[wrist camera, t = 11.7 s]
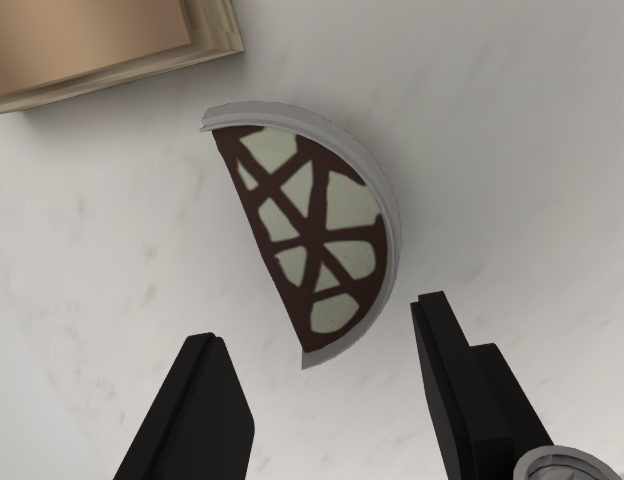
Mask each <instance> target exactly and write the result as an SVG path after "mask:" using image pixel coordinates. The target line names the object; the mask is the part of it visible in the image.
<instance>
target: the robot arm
mask: <svg viewBox="0 0 624 480" xmlns="http://www.w3.org/2000/svg"><path fill="white" fill-rule="evenodd" d="M418 301H419V302H413V303H410V306H411V313H412V319H413V324H414V330H415V336H416V342H417V348H418V354H419V360H420V365H421V371H422V377H423V383H424V389H425V395H426V399H427V404H428V408H429V412H430V415H431V419H432V422H433V426H434V430H435V433H436V437H437V440H438V444H439V448H440V451H441V455H442V458H443V462H444V466H445V469H446V473H447V476H448V480H622V479H621V478H620V477H619V476H618V475H617V474H616V473H615V472H614V471H613V470H612V469H611V468H610V467H609V466H608V465H607V464H605V463H604V462H602V461H601V460H599V459H597V458H596V457H594V456H593V455H591V454H588V453H585V452H583V451H580V450H578V449H575V448H570V447H564V446H558V445H556V446H555V445H554V444H553V442H552V440H551V438H550V437H549V435H548V433H547V431H546V430H545V428H544V426H543V424H542V423H541V421H540V419H539V418H538V416H537V414H536V412H535V411H534V409H533V407H532V405H531V404H530V402H529V400H528V399H527V397H526V395H525V393H524V392H523V390H522V388H521V386H520V385H519V383H518V381H517V379H516V378H515V376H514V374H513V373H512V371H511V369H510V367H509V366H508V364H507V362H506V360H505V359H504V357H503V355H502V354H501V352H500V350H499V349H498V347H497V346H496V345H495V344H494V343H489V344H483V345H477V346H471V347H470V346H469V344H468V342H467V340H466V338H465V336H464V334H463V331H462V329H461V327H460V325H459V323H458V321H457V319H456V317H455V315H454V313H453V311H452V309H451V307H450V304H449V302H448V300H447V298H446V296H445V294H444V292H443V291H439V292H433V293H427V294H422V295H418ZM254 432H255V426H254V420H253V416H252V414H251V411H250V409H249V406H248V403H247V401H246V398H245V395H244V393H243V390H242V388H241V385H240V382H239V380H238V377H237V374H236V372H235V369H234V367H233V364H232V361H231V359H230V356H229V353H228V351H227V348H226V346H225V343H224V341H223V339H222V338H221V337H216V336H215V335H214V334H213V333H212V332H208V333H203V334H197V335H191V336H188V337H187V338H186V340H185V342H184V344H183V346H182V348H181V350H180V352H179V353H178V355H177V357H176V359H175V361H174V363H173V365H172V367H171V369H170V371H169V373H168V375H167V377H166V378H165V380H164V382H163V384H162V386H161V388H160V390H159V392H158V394H157V396H156V398H155V400H154V402H153V403H152V405H151V407H150V409H149V411H148V413H147V415H146V417H145V419H144V421H143V423H142V425H141V427H140V428H139V430H138V432H137V434H136V436H135V438H134V440H133V442H132V444H131V446H130V448H129V450H128V452H127V453H126V455H125V457H124V459H123V461H122V463H121V465H120V467H119V469H118V471H117V473H116V475H115V477H114V478H113V480H245V477H246V472H247V467H248V463H249V458H250V453H251V448H252V443H253V438H254Z"/></svg>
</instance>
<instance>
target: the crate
mask: <svg viewBox="0 0 624 480" xmlns="http://www.w3.org/2000/svg"><path fill="white" fill-rule="evenodd" d="M183 1H184V5H185V8H186V12H187V15H188V18H189V22H190V25H191V29H192V32H193V36H194V39H195V42H196V45H194V46H190V47H186V48H183V49H179V50H175V51H171V52H168V53H164V54H160V55H157V56H153V57H149V58H146V59H142V60H138V61H135V62H131V63H127V64H124V65H120V66H116V67H113V68H109V69H105V70H102V71H98V72H94V73H91V74H87V75H83V76H80V77H76V78H72V79H69V80H65V81H61V82H58V83H54V84H50V85H47V86H43V87H39V88H36V89H32V90H28V91H25V92H21V93H17V94H14V95H10V96H6V97H3V98H0V114H4V113H10V112H16V111H21V110H25V109H29V108H33V107H36V106H40V105H44V104H48V103H51V102H55V101H59V100H63V99H66V98H70V97H74V96H78V95H82V94H85V93H89V92H93V91H97V90H100V89H104V88H108V87H112V86H115V85H119V84H123V83H127V82H130V81H134V80H138V79H142V78H145V77H149V76H153V75H157V74H160V73H164V72H168V71H172V70H175V69H179V68H183V67H187V66H190V65H194V64H198V63H202V62H205V61H209V60H213V59H217V58H220V57H224V56H228V55H232V54H235V53H239V52H243V51H245V49H244V45H243V41H242V38H241V34H240V30H239V27H238V23H237V19H236V16H235V12H234V8H233V5H232V1H231V0H183Z"/></svg>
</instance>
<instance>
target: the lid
mask: <svg viewBox="0 0 624 480" xmlns="http://www.w3.org/2000/svg"><path fill="white" fill-rule="evenodd" d="M194 45H196V42H195V39H194V36H193V32H192V29H191V25H190V22H189V18H188V15H187V12H186V8H185V5H184V1H183V0H0V98H3V97H6V96H10V95H14V94H17V93H21V92H25V91H28V90H32V89H36V88H39V87H43V86H47V85H50V84H54V83H58V82H61V81H65V80H69V79H72V78H76V77H80V76H83V75H87V74H91V73H94V72H98V71H102V70H105V69H109V68H113V67H116V66H120V65H124V64H127V63H131V62H135V61H138V60H142V59H146V58H149V57H153V56H157V55H160V54H164V53H168V52H171V51H175V50H179V49H183V48H186V47H190V46H194Z"/></svg>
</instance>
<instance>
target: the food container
mask: <svg viewBox="0 0 624 480" xmlns="http://www.w3.org/2000/svg"><path fill="white" fill-rule="evenodd" d="M201 121H202V123H203V125H204V126H203V127H202V128H201V129H200V130H199V131H200V132H203V131H210V130H212V134H213V137H214V139H215V141H216V144H217V148H218V150H219V152H220V154H221V155H222V157H223V159H224V161H225V164H226V166H227V168H228V170H229V173H230V175H231V178H232V180H233V183H234V185H235V187H236V190H237V192H238V195H239V197H240V200H241V203H242V205H243V208H244V210H245V213H246V215H247V218H248V220H249V223H250V226H251V229H252V231H253V234H254V237H255V240H256V242H257V245H258V248H259V250H260V253H261V256H262V258H263V260H264V262H265V265H266V267H267V269H268V271H269V273H270V275H271V277H272V279H273V281H274V283H275V285H276V288H277V290H278V292H279V294H280V296H281V299H282V301H283V303H284V305H285V308H286V310H287V312H288V315H289V317H290V320H291V322H292V324H293V327H294V329H295V332H296V334H297V336H298V339H299V341H300V343H301V346H302V370H304V369H307V368H310V367H313V366H316V365H319V364H321V363H323V362H326V361H328V360H330V359H332V358H334V357H336V356H337V355H339V354H340V353H342V352H343V351H345V350H346V349H348V348H349V347H351V346H352V345H353V344H354V343H355V342H356V341H357V340H359V339H360V338H361V337H362V336H363V335H364V334H365V333H366V332H367V330H368V329H369V328H370V327H371V325H372V324H373V323H374V321H375V320H376V319H377V317H378V316H379V315H380V313H381V311H382V310H383V308H384V306H385V304H386V302H387V301H388V299H389V297H390V294H391V292H392V289H393V286H394V283H395V280H396V276H397V270H398V265H399V259H400V252H401V245H402V237H401V220H400V214H399V209H398V204H397V201H396V198H395V196H394V193H393V190H392V187H391V185H390V183H389V181H388V179H387V177H386V176H385V174H384V172H383V170H382V169H381V167H380V165H379V164H378V163H377V161H376V160H375V159H374V158H373V156H372V155H371V154H370V153H369V152H368V150H367V149H366V148H365V147H364V146H363V145H362V144H361V143H360V142H359V141H357V140H356V139H355V138H354V137H353V136H352V135H350V134H349V133H348V132H347V131H346V130H344V129H343V128H341V127H339V126H338V125H336V124H334V123H333V122H331V121H330V120H328V119H326V118H325V117H322V116H320V115H317V114H315V113H312V112H310V111H308V110H305V109H303V108H299V107H294V106H290V105H286V104H282V103H275V102H261V101H249V102H238V103H229V104H225V105H221V106H218V107H214V108H210V109H208V110H207V112H206V113H205V115H204V117H203V118H202V120H201Z"/></svg>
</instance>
